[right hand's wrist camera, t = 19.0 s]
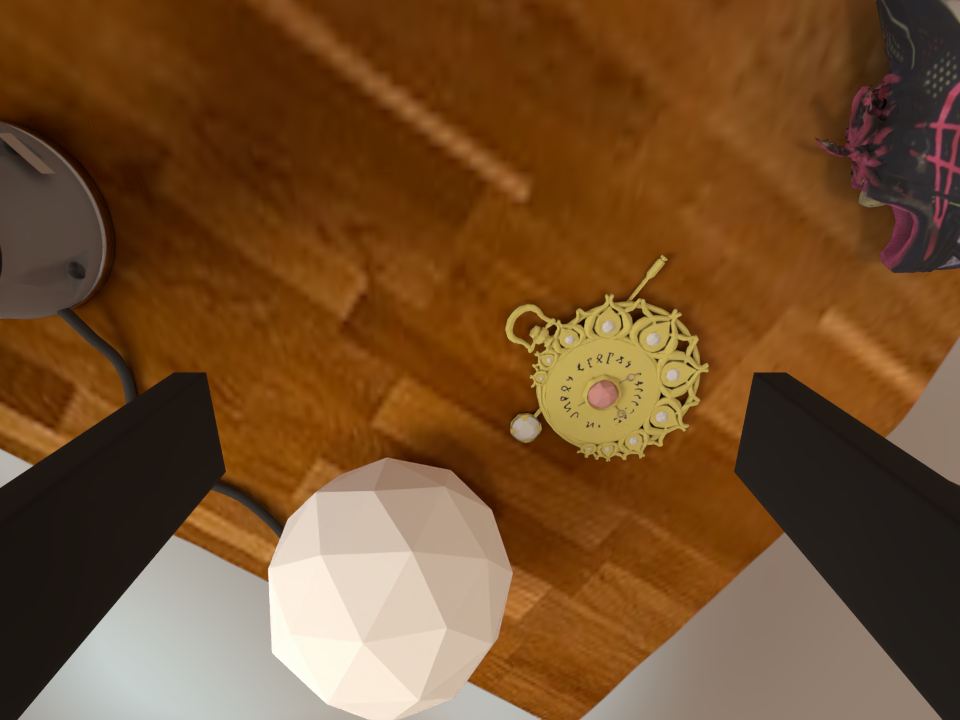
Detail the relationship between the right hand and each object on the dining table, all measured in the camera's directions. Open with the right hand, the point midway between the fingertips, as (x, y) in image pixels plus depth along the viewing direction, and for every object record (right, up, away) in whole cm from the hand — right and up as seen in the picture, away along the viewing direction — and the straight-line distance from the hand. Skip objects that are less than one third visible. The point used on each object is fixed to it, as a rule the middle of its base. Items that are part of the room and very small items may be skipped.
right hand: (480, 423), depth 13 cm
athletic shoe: (+31, +18, +27) cm, 45 cm away
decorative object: (+11, +1, +34) cm, 36 cm away
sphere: (-7, -13, +39) cm, 42 cm away
